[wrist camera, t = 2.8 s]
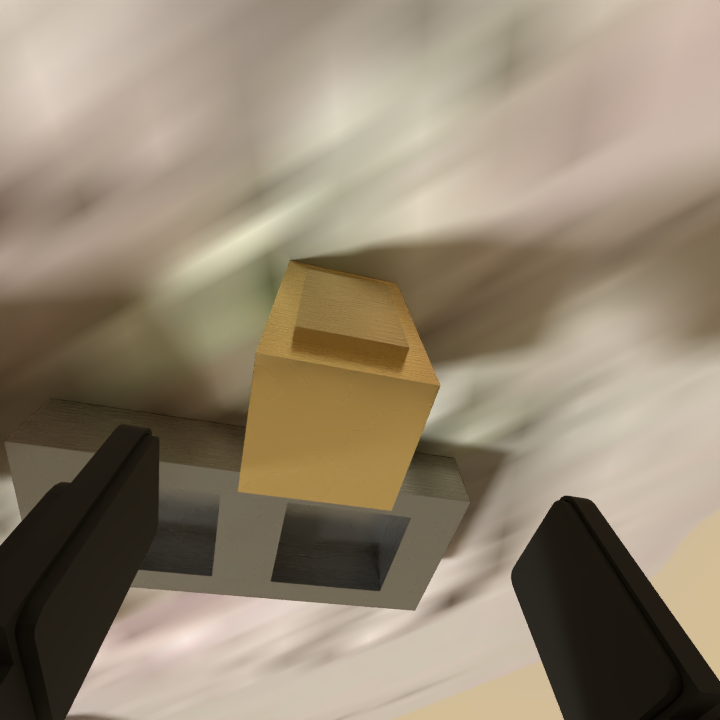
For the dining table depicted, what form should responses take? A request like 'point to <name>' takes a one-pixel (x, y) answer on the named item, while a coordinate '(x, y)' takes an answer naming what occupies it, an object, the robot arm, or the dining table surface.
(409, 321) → the tan shipping carton
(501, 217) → the dining table surface
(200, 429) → the grey flat frame
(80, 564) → the robot arm
